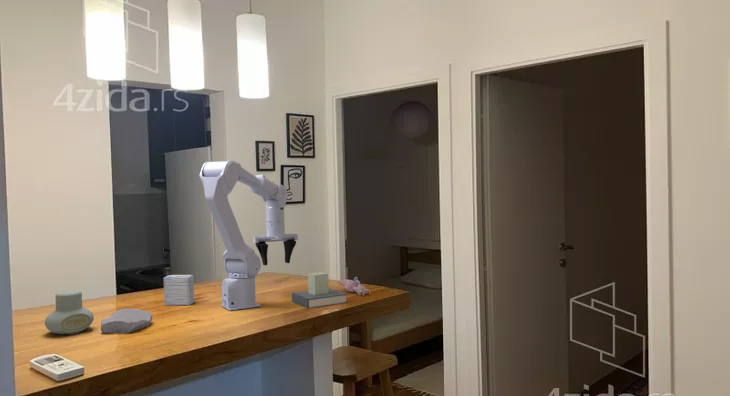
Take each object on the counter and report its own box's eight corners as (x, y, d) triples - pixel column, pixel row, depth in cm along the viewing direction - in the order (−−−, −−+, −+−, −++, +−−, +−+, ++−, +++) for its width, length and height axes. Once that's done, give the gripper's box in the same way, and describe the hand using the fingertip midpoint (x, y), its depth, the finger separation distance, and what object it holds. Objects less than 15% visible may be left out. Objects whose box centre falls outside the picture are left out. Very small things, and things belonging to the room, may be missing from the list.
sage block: (315, 295, 170) (314, 275, 170) (308, 292, 173) (308, 273, 173) (328, 293, 172) (327, 273, 172) (321, 291, 176) (321, 271, 176)
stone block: (154, 328, 152) (117, 321, 152) (157, 311, 152) (120, 304, 152) (136, 343, 141) (96, 335, 140) (139, 324, 140) (99, 316, 140)
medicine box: (195, 302, 176) (194, 274, 175) (189, 305, 171) (188, 277, 171) (170, 302, 176) (169, 274, 176) (164, 305, 172) (163, 277, 172)
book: (307, 309, 165) (307, 299, 165) (291, 302, 174) (291, 292, 174) (346, 303, 172) (346, 293, 171) (329, 297, 181) (329, 288, 181)
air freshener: (52, 339, 136) (50, 298, 136) (40, 333, 142) (39, 293, 142) (99, 330, 144) (97, 291, 144) (86, 324, 150) (84, 287, 150)
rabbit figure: (374, 298, 183) (346, 285, 195) (375, 281, 182) (347, 268, 194) (359, 301, 179) (331, 287, 191) (360, 283, 178) (333, 270, 190)
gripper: (258, 223, 175) (259, 267, 175) (301, 221, 182) (302, 263, 183) (250, 222, 181) (251, 264, 181) (292, 220, 188) (293, 260, 189)
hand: (276, 263), depth 183 cm, fingers open, 7 cm apart
